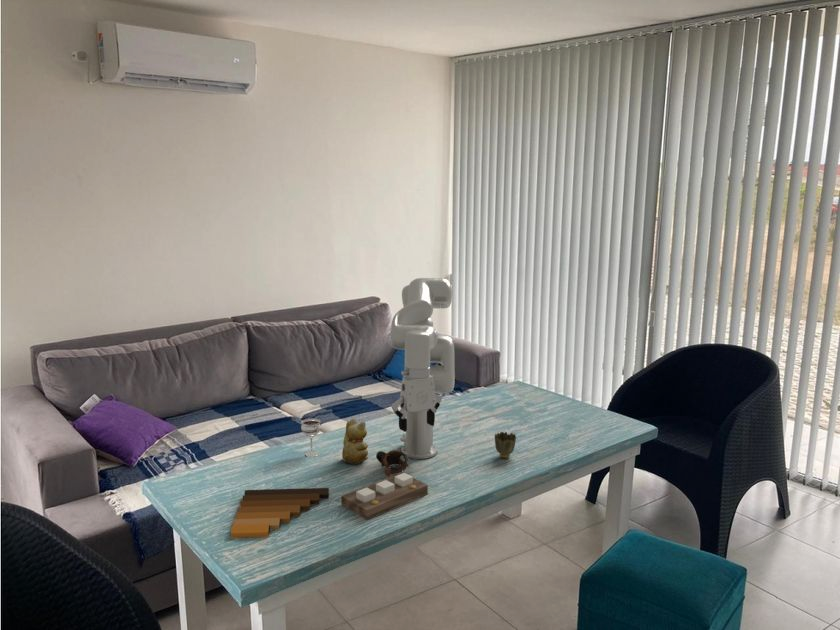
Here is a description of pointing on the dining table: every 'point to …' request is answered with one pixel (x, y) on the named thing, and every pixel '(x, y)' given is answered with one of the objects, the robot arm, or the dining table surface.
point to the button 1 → (365, 495)
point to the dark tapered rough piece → (505, 444)
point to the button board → (384, 498)
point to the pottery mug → (392, 461)
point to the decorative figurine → (355, 442)
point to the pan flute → (272, 509)
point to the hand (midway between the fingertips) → (416, 427)
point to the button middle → (385, 487)
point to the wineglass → (311, 431)
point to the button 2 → (403, 480)
